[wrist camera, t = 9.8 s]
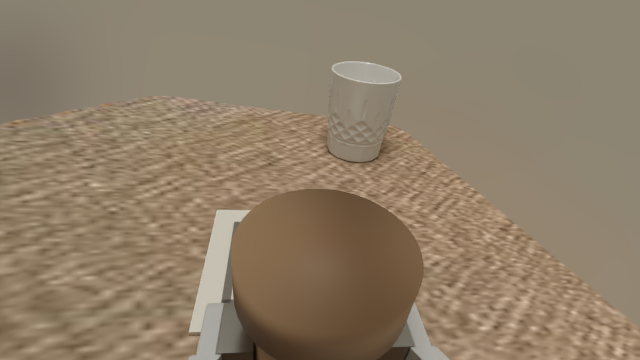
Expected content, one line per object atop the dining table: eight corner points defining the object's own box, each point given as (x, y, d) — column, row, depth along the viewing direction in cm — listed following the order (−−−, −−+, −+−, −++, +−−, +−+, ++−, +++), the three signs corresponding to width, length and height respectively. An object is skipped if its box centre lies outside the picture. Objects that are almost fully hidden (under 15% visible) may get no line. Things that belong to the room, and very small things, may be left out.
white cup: (392, 165, 42) (413, 84, 36) (329, 166, 40) (341, 82, 35) (372, 135, 48) (387, 62, 43) (317, 135, 47) (325, 59, 41)
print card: (189, 335, 22) (188, 331, 21) (217, 212, 32) (217, 209, 31) (374, 329, 23) (375, 325, 23) (346, 214, 33) (346, 211, 33)
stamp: (229, 512, 12) (202, 346, 6) (242, 363, 16) (234, 182, 10) (373, 498, 12) (470, 337, 7) (350, 358, 16) (398, 187, 11)
